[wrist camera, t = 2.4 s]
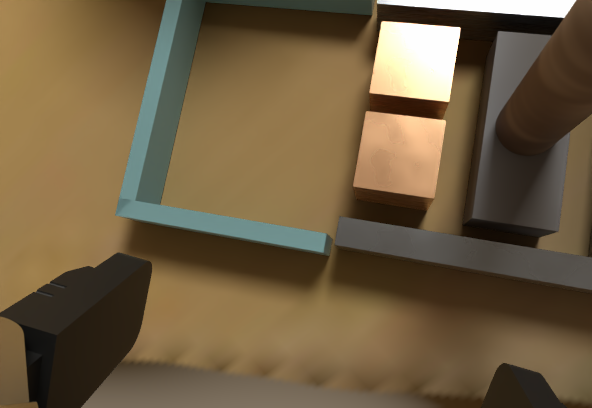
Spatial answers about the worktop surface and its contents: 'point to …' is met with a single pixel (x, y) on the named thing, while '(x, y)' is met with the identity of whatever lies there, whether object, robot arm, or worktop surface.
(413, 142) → the peach block
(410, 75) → the chip
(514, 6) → the slot
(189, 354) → the worktop surface
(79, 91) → the worktop surface
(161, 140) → the teal low frame
